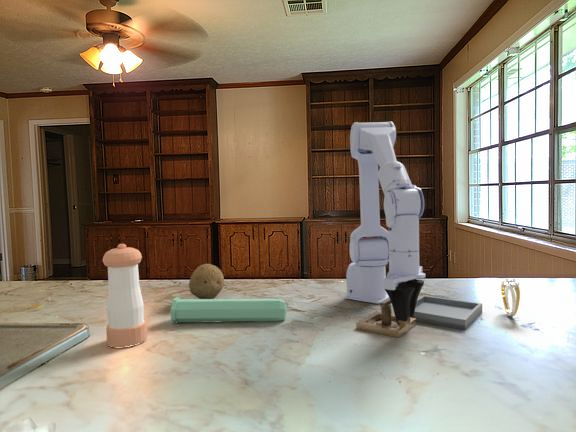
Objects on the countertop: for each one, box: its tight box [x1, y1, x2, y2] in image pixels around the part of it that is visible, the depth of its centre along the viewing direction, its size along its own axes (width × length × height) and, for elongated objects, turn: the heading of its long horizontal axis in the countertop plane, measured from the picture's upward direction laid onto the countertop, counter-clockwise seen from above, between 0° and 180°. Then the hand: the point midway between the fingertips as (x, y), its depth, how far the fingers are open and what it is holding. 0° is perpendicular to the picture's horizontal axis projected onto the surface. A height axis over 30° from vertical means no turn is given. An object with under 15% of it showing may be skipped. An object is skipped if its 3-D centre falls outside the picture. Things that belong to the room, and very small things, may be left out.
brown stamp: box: [375, 298, 399, 328], centre depth 83 cm, size 4×4×5 cm
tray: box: [411, 295, 483, 331], centre depth 89 cm, size 13×13×2 cm
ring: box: [500, 278, 521, 317], centre depth 87 cm, size 7×3×8 cm, turn 165°
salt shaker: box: [102, 243, 148, 347], centre depth 79 cm, size 7×7×19 cm
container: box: [170, 296, 288, 324], centre depth 90 cm, size 6×6×25 cm
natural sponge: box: [188, 263, 225, 299], centre depth 105 cm, size 9×9×10 cm
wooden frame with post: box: [355, 307, 417, 338], centre depth 83 cm, size 9×9×5 cm
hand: (404, 318), depth 81 cm, fingers closed on wooden frame with post, 2 cm apart
